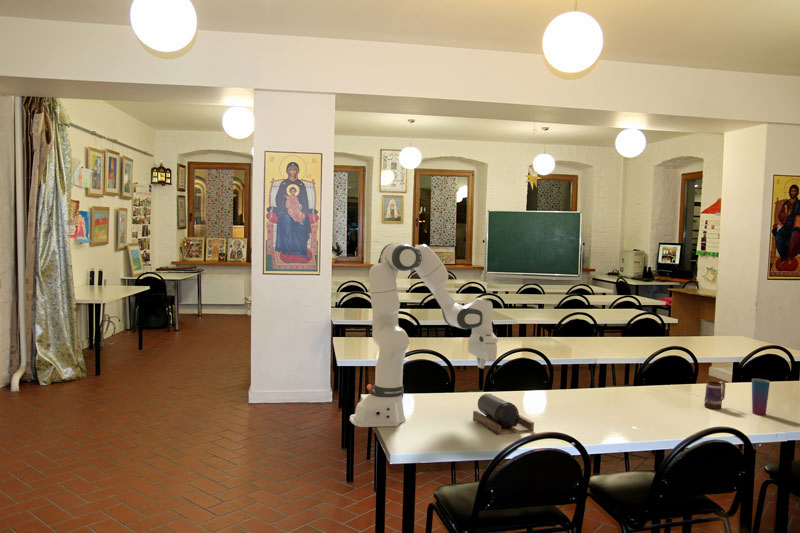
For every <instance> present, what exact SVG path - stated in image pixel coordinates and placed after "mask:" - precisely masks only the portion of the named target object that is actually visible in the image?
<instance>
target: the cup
mask: <svg viewBox="0 0 800 533" xmlns="http://www.w3.org/2000/svg"><path fill="white" fill-rule="evenodd" d="M770 384H771V382H770V380H768V379H762V378H752V379H751V397H752V398H751V404H752V407H751V408H752V414H753V415H756V416H766V414H767V407H768V400H769V391H770Z"/></svg>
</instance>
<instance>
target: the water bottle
mask: <svg viewBox="0 0 800 533" xmlns="http://www.w3.org/2000/svg"><path fill="white" fill-rule="evenodd" d="M477 409H478V410H479V412H480V413H481V414H483V415H484V416H487V417H489V418H490V419H491V420H492V421H494V422H496V423H497V424H499V425H501V428H503V429H509V428H512V427H515V426H517V424H518V422H519V420H520V416H519V415H520V412H519V409H518V407H517V406H516V405H515V404H513V403H511V402H509V401H506V400H504V399H502V398H499V397H497V396H495V395H493V394H491V393H484V394H482V395H481V396H479V398H478V400H477Z"/></svg>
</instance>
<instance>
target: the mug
mask: <svg viewBox="0 0 800 533" xmlns="http://www.w3.org/2000/svg"><path fill="white" fill-rule="evenodd" d="M705 386H706V387H705V395H704V396H705V397H704V408H707V409H709V410H714V411H716V410H717V411H718V410H722V404H723V401H724V399H725V395H726V382H724V381H723V380H721V381H714V380H712V381H711V380H708V381H706V385H705Z"/></svg>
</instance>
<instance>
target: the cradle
mask: <svg viewBox="0 0 800 533" xmlns="http://www.w3.org/2000/svg"><path fill="white" fill-rule="evenodd" d="M519 416H520V420H519V422H518V424H517V426H515V427H512V428H509V429H503V428H501V425H499V424H497V423H496V422H494V421H492V420H491V419H490V418H489V417H487V416H486V415H485V414H483V413H482V412H480V411H478V410H473V413H472V419H473V421H474V422H476V421H477V423H478V424H479V425H481V426H482V427H484V428H486V429H487V430H489V431H490V432H491V433H493V434H495V435H496V436H501V435H502V436H504V435H512V434H513V435H514V434H523V433H532V432H534V428H535V422H534V421H532V420H530V419H528V418H526V417H525V416H522V415H521V414H519Z"/></svg>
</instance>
